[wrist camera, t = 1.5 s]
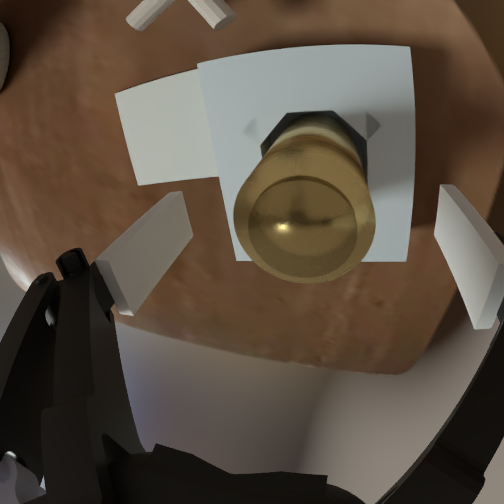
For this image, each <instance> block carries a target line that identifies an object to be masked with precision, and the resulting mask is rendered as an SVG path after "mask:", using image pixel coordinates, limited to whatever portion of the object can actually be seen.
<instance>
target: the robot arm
mask: <svg viewBox="0 0 504 504" xmlns="http://www.w3.org/2000/svg"><path fill="white" fill-rule="evenodd" d="M434 236H435V238H436V240H437V242H438V244H439V246H440V248H441V250H442V252H443V254H444V256H445V258H446V261H447V263H448V265H449V267H450V269H451V272H452V274H453V276H454V278H455V281H456V283H457V285H458V288H459V290H460V293H461V295H462V298H463V300H464V303H465V305H466V308H467V310H468V313H469V316H470V318H471V321H472V324H473V327H474V329H485V328H491V327H492V325H493V323H494V321H495V318H496V316H498V319H499V321H500V325H499V327H498V330H497V332H496V334H495V336H494V338H493V340H492V342H491V344H490V347H489V349H488V351H487V353H486V355H485V357H484V359H483V361H482V363H481V364H480V366H479V368H478V370H477V372H476V374H475V375H474V377H473V379H472V381H471V382H470V384H469V386H468V388H467V389H466V391H465V393H464V394H463V396H462V398H461V399H460V401H459V402H458V404H457V405H456V407H455V409H454V410H453V412H452V413H451V415H450V416H449V418H448V419H447V420H446V422H445V423H444V425H443V426H442V428H441V429H440V430H439V432H438V433H437V434H436V436H435V437H434V439H433V440H432V441H431V442H430V444H429V445H428V446H427V448H426V449H425V450H424V451H423V453H422V454H421V455H420V456H419V457H418V459H417V460H416V461H415V462H414V463H413V465H412V466H411V467H410V468H409V469H408V470H407V472H406V473H405V474H404V475H403V476H402V477H401V478H400V479H399V480H398V482H396V483H395V484H394V485H393V487H391V488H390V490H388V491H387V493H385V494H384V495H383V496H382V497H381V498H380V499H379V500H378V501H377V502H376V503H375V504H472V503H473V502H474V500H475V499H476V497H477V495H478V494H479V492H480V491H481V489H482V487H483V486H484V482H485V477H484V476H483V475H484V472H485V470H486V468H487V466H488V464H489V463H490V461H491V460H492V458H493V456H494V454H495V452H496V451H497V449H498V447H499V445H500V443H501V441H502V439H503V437H504V237H503V236H502V235H501V234H499V233H498V232H493V231H492V229H491V228H490V227H489V225H488V224H487V223H486V222H485V220H484V219H483V218H482V217H481V216H480V214H479V213H478V212H477V211H476V210H475V208H474V207H473V206H472V205H471V204H470V203H469V201H468V200H467V199H466V198H465V197H464V196H463V195H462V193H461V192H460V191H459V190H458V189H457V188H456V187H455V186H454V185H446V184H440V190H439V200H438V209H437V217H436V225H435V232H434ZM192 237H193V233H192V229H191V225H190V222H189V218H188V214H187V210H186V206H185V202H184V198H183V194H182V191H178V192H169V193H168V194H167V195H166V196H165V197H163V198H162V199H161V200H160V201H159V202H158V203H156V204H155V205H154V206H153V207H152V208H151V209H149V210H148V211H147V212H146V213H145V214H144V215H143V216H141V217H140V218H139V219H138V220H137V221H136V222H135V223H134V224H132V225H131V226H130V227H129V228H128V229H127V230H126V231H125V232H124V233H123V234H121V235H120V236H119V237H118V238H117V239H116V240H115V241H114V242H113V243H112V244H111V245H110V246H109V247H108V248H107V249H105V250H104V251H103V252H102V253H101V254H100V255H99V256H98V257H97V258H96V259H95V261H94V262H93V263H92V264H91V265H90V266H89V264H88V262H87V260H86V257H85V255H84V253H83V251H82V249H81V248H74V249H71V250H69V251H67V252H65V253H63V254H62V255H61V256H60V257H59V258H58V259H57V260H56V264H57V266H58V268H59V270H60V272H61V274H62V276H63V278H64V279H63V280H60V281H57V280H56V278H55V277H54V275H53V273H52V272H47V273H44V274H41V275H39V276H38V277H37V278H36V279H35V280H34V281H33V282H32V284H31V285H30V287H29V289H28V290H27V292H26V294H25V296H24V298H23V300H22V301H21V303H20V305H19V307H18V308H17V310H16V312H15V314H14V316H13V318H12V320H11V322H10V324H9V326H8V328H7V330H6V332H5V334H4V336H3V338H2V340H1V342H0V504H365V503H364V502H363V501H362V500H361V499H359V498H358V497H356V496H355V495H353V494H351V493H350V492H348V491H346V490H344V489H342V488H339V487H337V486H334V485H330V484H327V477H328V476H327V475H312V474H300V473H290V472H282V471H281V472H270V473H256V474H230V473H228V472H226V471H224V470H222V469H219V468H218V467H216V466H214V465H212V464H210V463H208V462H206V461H204V460H202V459H200V458H198V457H196V456H195V455H193V454H190V453H186V452H183V451H179V450H176V449H173V448H169V447H166V446H163V445H159V444H156V445H155V447H154V449H153V451H152V452H146V451H145V449H144V448H143V446H142V445H141V443H140V440H139V438H138V434H137V430H136V426H135V423H134V419H133V415H132V411H131V407H130V403H129V398H128V394H127V389H126V385H125V380H124V375H123V370H122V365H121V359H120V354H119V348H118V342H117V335H116V329H115V322H114V315H113V313H112V311H111V309H110V308H111V307H112V306H113V304H114V303H115V305H116V307H117V309H118V311H119V313H120V314H125V315H132V316H134V315H135V313H136V312H137V310H138V309H139V308H140V306H141V305H142V303H143V302H144V301H145V299H146V298H147V297H148V295H149V294H150V292H151V291H152V290H153V288H154V287H155V286H156V284H157V283H158V282H159V280H160V279H161V278H162V276H163V275H164V274H165V272H166V271H167V270H168V268H169V267H170V266H171V264H172V263H173V262H174V260H175V259H176V258H177V257H178V255H179V254H180V253H181V251H182V250H183V249H184V247H185V246H186V245H187V244H188V242H189V241H190V240H191V238H192ZM45 313H46V315H47V316H48V318H49V319H50V321H51V324H50V326H49V325H48V323H47V321H46V317H45ZM5 453H6V454H5ZM43 475H44V480H45V489H46V490H44V489H43V488H42V487H40V485H41V482H42V479H43Z"/></svg>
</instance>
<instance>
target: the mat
mask: <svg viewBox="0 0 504 504" xmlns="http://www.w3.org/2000/svg"><path fill="white" fill-rule="evenodd" d="M115 97H116V101H117V105H118V110H119V114H120V118H121V123H122V127H123V131H124V135H125V139H126V142H127V146H128V150H129V154H130V158H131V161H132V165H133V168H134V172H135V175H136V179H137V182H138V186H139V185H146V184H153V183H161V182H169V181H177V180H186V179H195V178H205V177H216V176H219V174H218V169H217V164H216V159H215V154H214V149H213V144H212V139H211V134H210V129H209V124H208V119H207V114H206V108H205V103H204V98H203V93H202V88H201V82H200V77H199V72H198V69H195V70H191V71H187V72H183V73H179V74H175V75H172V76H168V77H165V78H161V79H158V80H154V81H151V82H148V83H145V84H142V85H139V86H136V87H133V88H130V89H127V90H124V91H121V92H119V93H116V94H115Z"/></svg>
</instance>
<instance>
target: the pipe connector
mask: <svg viewBox="0 0 504 504" xmlns="http://www.w3.org/2000/svg"><path fill="white" fill-rule="evenodd" d="M175 1H176V0H143V1H142V2H141V3H140V4H139V5H138V6H137V7H136V8H135V9H134V10H133V11H132V12H131V13H130V14H129V16H128V17H127V18H126V20H127V22H128V24H130V25H131V26H132V27H133V28H135V29H137V30H140V31H143V30H144V29H145V28H146V27H147V26H149V25H150V24H151V23H152V22H153V21H154V20H155V19H156V18H157V17H158V16H159V15H160V14H161V13H162V12H163V11H164V10H166V9H167V8H168V7H169V6H170V5H171V4H172V3H173V2H175ZM188 1H189V2H190V3H191V4H192V5H193V6H194V7H195V9H196V10H197V11H198V12H199V13H200V14H201V15H202V16H203V17H204V18H205V20H206V21H207V22H208V23H209V24H210V25H211V26H212V28H213V29H214V30H219V29H221V28H224V27H225V26H227V25H229V24H230V23H231V22H232V21H234V20H235V18H236V17H237V16H236V14H235V12H234V11H233V10H232V9H231V8H230V7H229V6H228V5H227V4H226V3H225V2H224V0H188Z"/></svg>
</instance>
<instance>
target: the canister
mask: <svg viewBox="0 0 504 504" xmlns="http://www.w3.org/2000/svg"><path fill="white" fill-rule="evenodd" d="M9 42H10V41H9V35H8V34H7V30H6V28H5V26H3V24H2V23H0V90H1V88H2V85H3V83H4V81H5V78H6V74H7V71H8V66H9V59H10V57H9V55H10V45H9Z"/></svg>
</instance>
